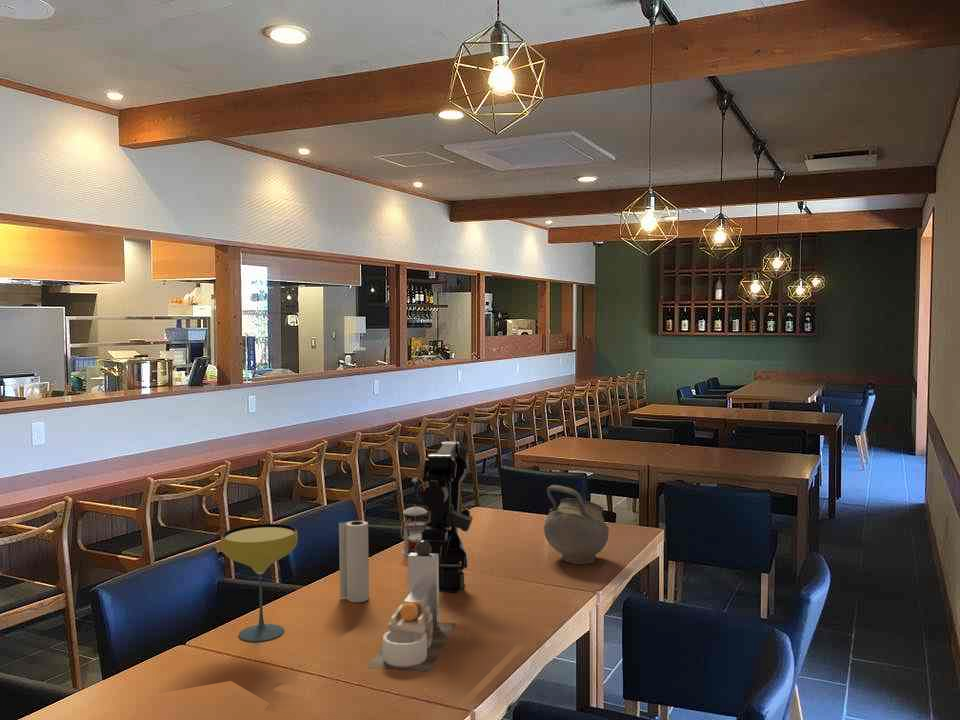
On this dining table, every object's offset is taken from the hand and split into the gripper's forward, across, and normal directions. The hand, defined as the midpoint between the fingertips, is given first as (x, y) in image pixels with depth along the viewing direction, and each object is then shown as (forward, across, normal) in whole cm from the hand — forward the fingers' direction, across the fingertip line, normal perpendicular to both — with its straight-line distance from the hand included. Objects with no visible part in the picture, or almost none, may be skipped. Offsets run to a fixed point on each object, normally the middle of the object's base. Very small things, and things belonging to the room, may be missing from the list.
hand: (440, 560), depth 207 cm
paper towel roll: (+13, +6, +25) cm, 29 cm away
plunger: (+13, -19, +1) cm, 23 cm away
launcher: (+14, -25, +1) cm, 29 cm away
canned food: (+12, +32, +12) cm, 36 cm away
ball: (+4, -30, +1) cm, 30 cm away
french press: (+10, +51, +19) cm, 56 cm away
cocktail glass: (+14, -20, +41) cm, 48 cm away
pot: (+11, +50, -34) cm, 61 cm away
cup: (+14, -33, +1) cm, 36 cm away
